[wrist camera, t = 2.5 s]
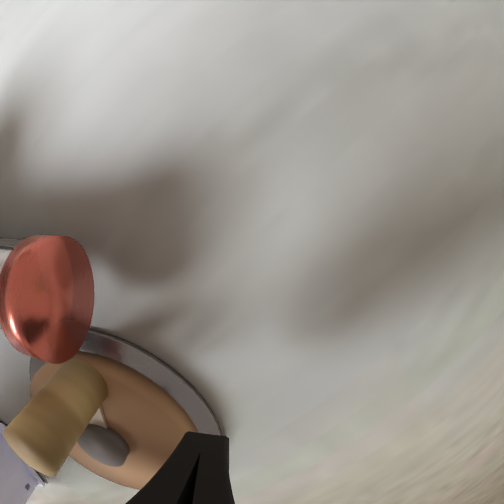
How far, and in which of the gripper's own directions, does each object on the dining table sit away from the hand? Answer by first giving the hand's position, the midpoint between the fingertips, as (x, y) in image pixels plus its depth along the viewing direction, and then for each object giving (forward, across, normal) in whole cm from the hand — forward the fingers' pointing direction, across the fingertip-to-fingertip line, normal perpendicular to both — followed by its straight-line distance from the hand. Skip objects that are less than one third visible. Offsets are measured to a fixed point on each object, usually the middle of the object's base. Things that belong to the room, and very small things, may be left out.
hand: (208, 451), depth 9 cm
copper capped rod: (+3, +12, -5) cm, 13 cm away
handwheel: (+4, +6, +4) cm, 9 cm away
